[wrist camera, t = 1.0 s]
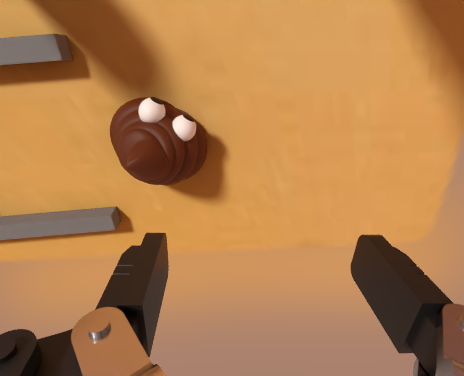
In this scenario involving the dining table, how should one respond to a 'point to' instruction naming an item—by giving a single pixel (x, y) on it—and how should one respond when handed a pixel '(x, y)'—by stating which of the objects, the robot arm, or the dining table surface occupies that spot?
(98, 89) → the dining table surface
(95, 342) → the robot arm
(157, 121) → the poop emoji
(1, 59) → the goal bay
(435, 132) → the dining table surface
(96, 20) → the dining table surface
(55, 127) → the dining table surface
